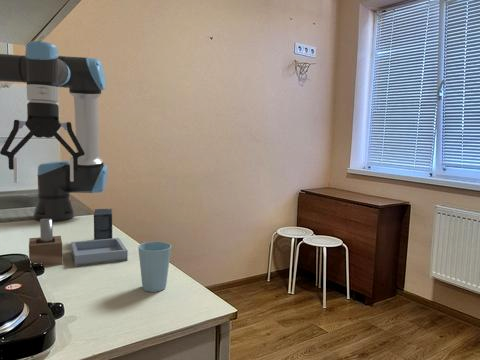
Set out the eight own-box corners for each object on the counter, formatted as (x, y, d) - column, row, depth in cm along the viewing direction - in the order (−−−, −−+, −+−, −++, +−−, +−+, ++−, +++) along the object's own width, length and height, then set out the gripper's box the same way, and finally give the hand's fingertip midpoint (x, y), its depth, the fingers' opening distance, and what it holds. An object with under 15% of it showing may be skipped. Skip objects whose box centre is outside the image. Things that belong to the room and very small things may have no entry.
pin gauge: (41, 260, 109) (40, 218, 107) (52, 259, 110) (52, 218, 109) (41, 263, 106) (40, 221, 105) (53, 262, 108) (52, 220, 106)
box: (95, 239, 132) (94, 208, 130) (112, 238, 133) (112, 208, 132) (93, 245, 124) (93, 213, 123) (112, 245, 126) (112, 213, 125)
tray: (71, 251, 118) (71, 242, 117) (118, 246, 124) (118, 237, 124) (75, 266, 105) (74, 255, 105) (127, 260, 112) (127, 250, 111)
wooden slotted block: (30, 258, 110) (29, 238, 109) (60, 255, 114) (60, 235, 113) (29, 267, 103) (28, 246, 102) (62, 264, 106) (62, 243, 106)
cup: (154, 297, 88) (155, 252, 87) (131, 289, 92) (131, 246, 91) (176, 286, 94) (177, 245, 93) (153, 279, 98) (154, 239, 97)
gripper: (-15, 98, 94) (-11, 184, 97) (94, 105, 105) (94, 182, 108) (-11, 100, 101) (-8, 180, 103) (91, 106, 112) (91, 178, 114)
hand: (44, 181), depth 106 cm, fingers open, 13 cm apart
